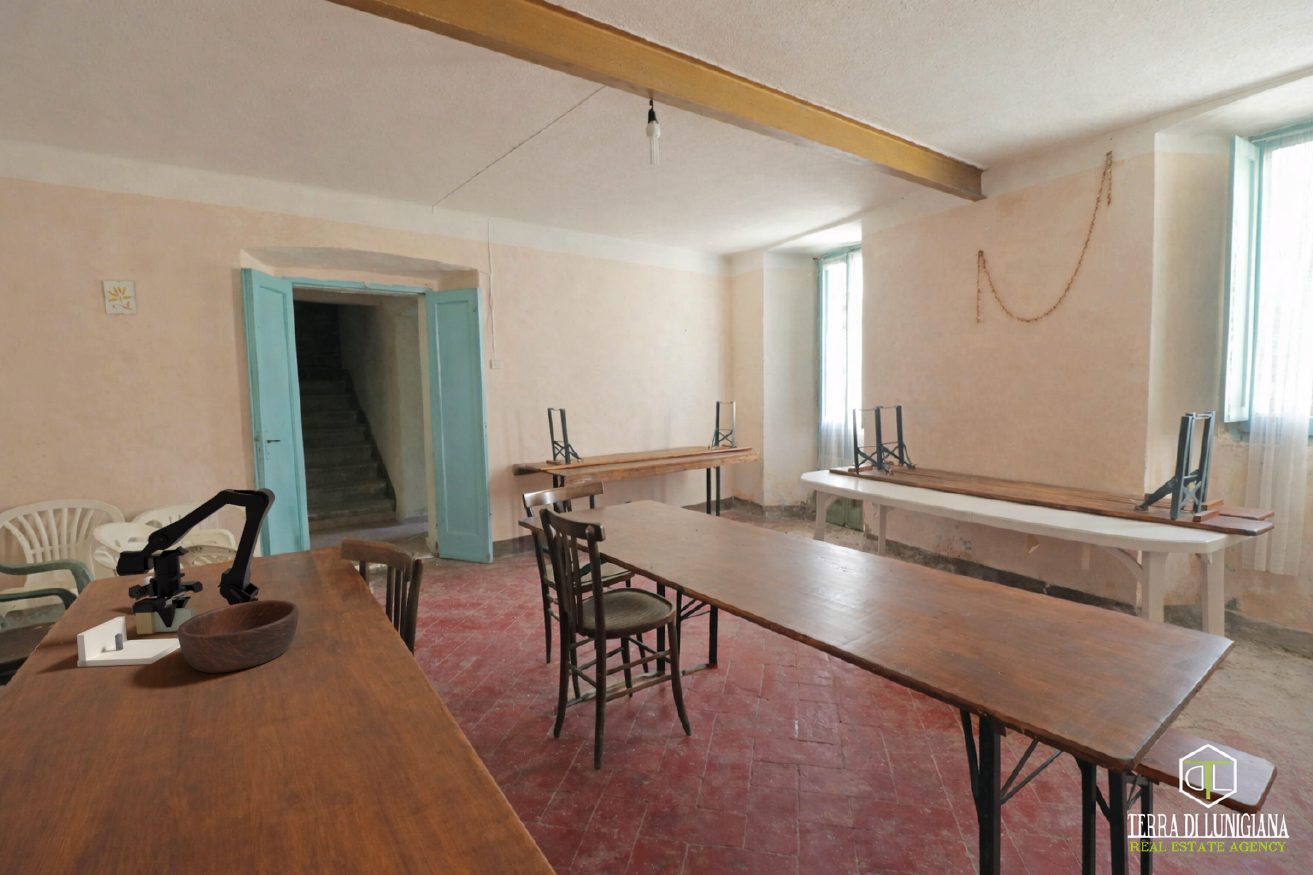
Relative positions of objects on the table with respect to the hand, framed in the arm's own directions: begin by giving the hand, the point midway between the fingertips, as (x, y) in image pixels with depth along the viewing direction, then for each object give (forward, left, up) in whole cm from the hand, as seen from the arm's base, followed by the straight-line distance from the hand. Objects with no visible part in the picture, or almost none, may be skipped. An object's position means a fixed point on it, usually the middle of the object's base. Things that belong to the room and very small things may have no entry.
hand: (171, 625), depth 166 cm
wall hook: (+19, -19, -2) cm, 27 cm away
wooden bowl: (-31, +19, -2) cm, 36 cm away
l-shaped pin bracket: (-2, +16, -1) cm, 16 cm away
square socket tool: (+1, 0, -1) cm, 1 cm away
